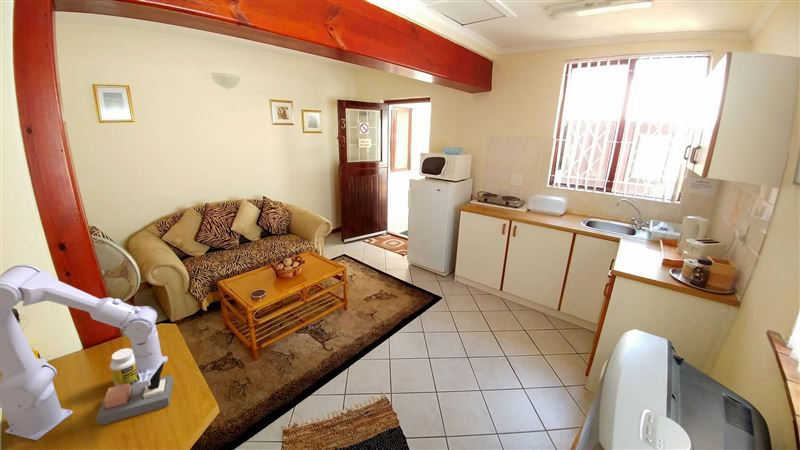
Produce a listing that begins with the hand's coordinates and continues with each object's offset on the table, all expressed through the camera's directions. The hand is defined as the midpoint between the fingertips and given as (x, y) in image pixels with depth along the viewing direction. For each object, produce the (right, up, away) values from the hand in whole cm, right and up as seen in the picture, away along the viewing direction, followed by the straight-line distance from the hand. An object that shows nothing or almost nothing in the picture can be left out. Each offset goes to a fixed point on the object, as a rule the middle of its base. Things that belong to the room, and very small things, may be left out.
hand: (154, 387), depth 88 cm
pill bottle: (-12, -1, +5) cm, 13 cm away
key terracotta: (-7, -2, -3) cm, 8 cm away
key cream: (0, -3, +1) cm, 3 cm away
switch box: (-4, -4, -1) cm, 6 cm away
